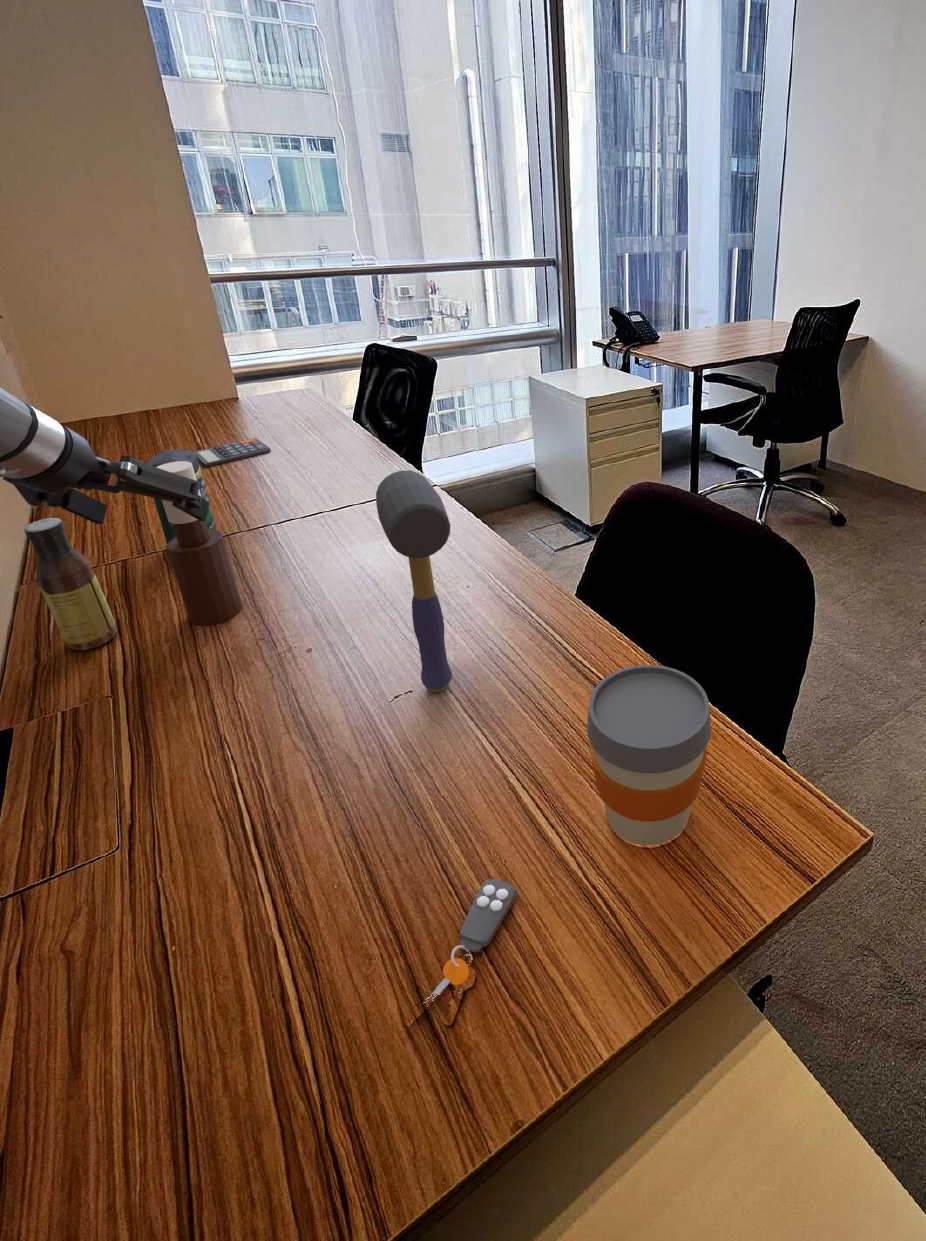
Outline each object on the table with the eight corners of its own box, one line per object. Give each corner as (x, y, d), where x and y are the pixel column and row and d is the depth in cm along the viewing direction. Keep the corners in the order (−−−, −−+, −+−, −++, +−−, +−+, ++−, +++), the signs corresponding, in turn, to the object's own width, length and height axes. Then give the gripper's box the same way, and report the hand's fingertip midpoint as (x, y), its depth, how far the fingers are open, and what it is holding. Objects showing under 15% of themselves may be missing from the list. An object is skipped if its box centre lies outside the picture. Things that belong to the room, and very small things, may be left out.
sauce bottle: (89, 627, 104) (43, 511, 96) (129, 628, 104) (86, 512, 96) (54, 654, 98) (1, 532, 90) (96, 655, 98) (47, 533, 90)
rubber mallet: (476, 706, 88) (451, 497, 76) (418, 724, 85) (381, 510, 73) (455, 652, 98) (429, 461, 86) (402, 667, 95) (367, 471, 83)
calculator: (270, 447, 173) (204, 463, 163) (271, 451, 173) (205, 466, 164) (255, 437, 181) (191, 451, 171) (256, 440, 181) (192, 454, 171)
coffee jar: (216, 553, 125) (189, 460, 118) (166, 561, 122) (135, 466, 115) (223, 531, 133) (198, 442, 126) (176, 538, 130) (148, 448, 123)
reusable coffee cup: (724, 846, 69) (732, 734, 63) (605, 878, 66) (602, 764, 60) (682, 756, 80) (686, 654, 74) (579, 780, 77) (574, 675, 71)
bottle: (180, 626, 104) (147, 528, 97) (204, 600, 111) (175, 507, 104) (228, 624, 105) (199, 527, 98) (250, 599, 111) (224, 505, 104)
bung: (166, 539, 99) (145, 473, 95) (184, 524, 104) (164, 461, 100) (200, 538, 100) (180, 473, 95) (216, 524, 104) (198, 460, 100)
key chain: (484, 883, 66) (483, 873, 65) (519, 894, 65) (518, 883, 64) (405, 1028, 54) (403, 1017, 54) (446, 1043, 53) (444, 1032, 53)
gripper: (-102, 484, 71) (51, 542, 91) (144, 478, 73) (242, 536, 93) (-79, 420, 74) (65, 490, 94) (158, 416, 76) (251, 485, 95)
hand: (153, 513), depth 93 cm, fingers open, 13 cm apart
